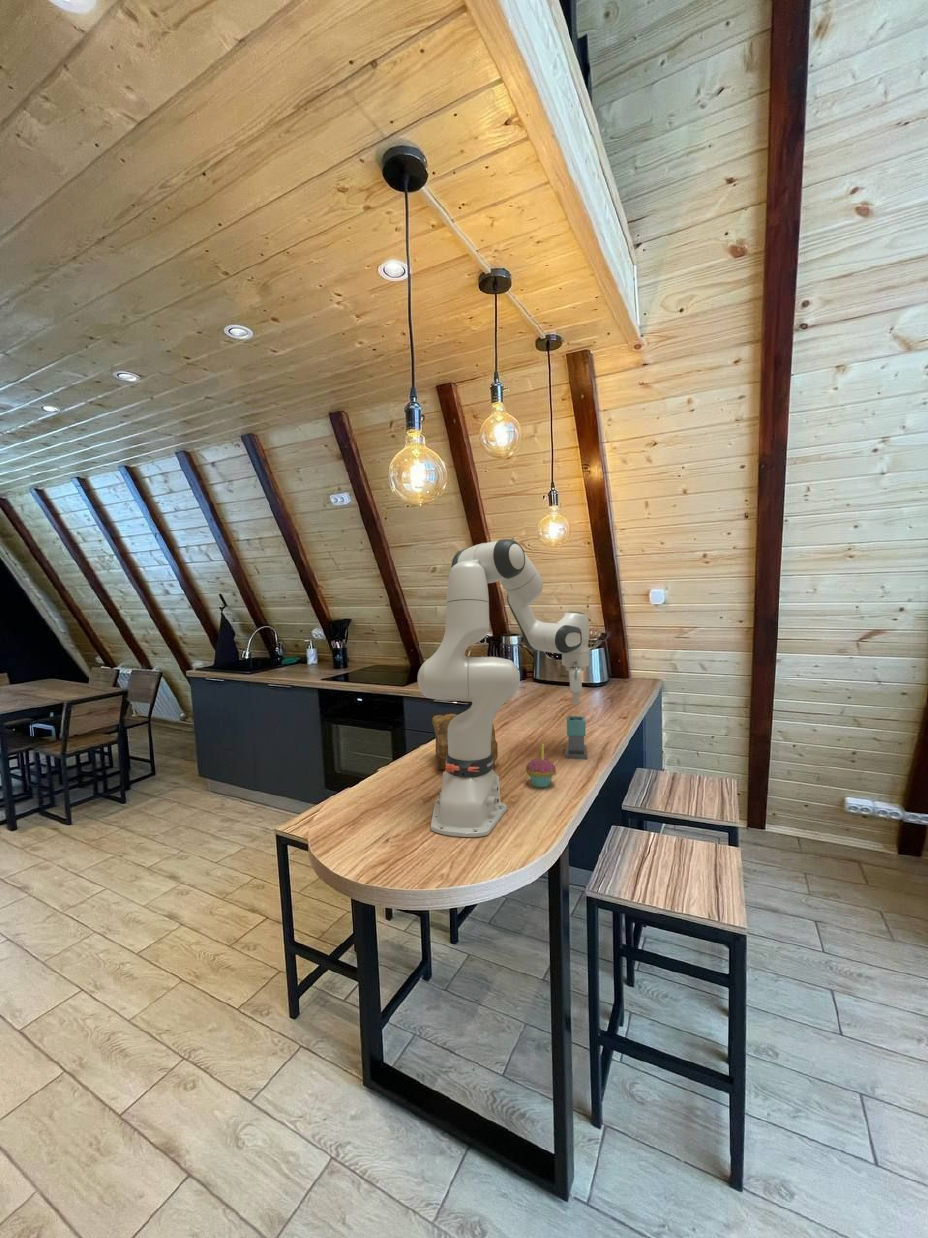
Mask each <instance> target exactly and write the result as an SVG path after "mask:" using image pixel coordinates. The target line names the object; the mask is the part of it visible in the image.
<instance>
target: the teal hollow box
mask: <svg viewBox="0 0 928 1238" xmlns="http://www.w3.org/2000/svg"><path fill="white" fill-rule="evenodd" d="M573 719H579V720H573ZM586 723H587V722H586V716H580V715H579V716H578V715H577V716H576V715H574V716H573V715H567V716H566V736H567V737H568V736H584V737H586V734H587V733H586V728H587V727H586Z"/></svg>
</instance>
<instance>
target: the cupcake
mask: <svg viewBox="0 0 928 1238" xmlns="http://www.w3.org/2000/svg"><path fill="white" fill-rule="evenodd" d="M525 768H526V769H525V773H526V775H528V776H529V777H530V780H531V784H532V785H533V786H534V787H536V788H547V787H549V786H550V783H551V779H552V778H553V776H554V775H556V774H557V769H556V765H555V764H554V763H553V762H552V761H550V760H548V759H546V758H545V744H544V741H543V740H542V743H541V757H540V758H534V759H533V760H531V761H529V762H528V763H527V764H526V766H525Z"/></svg>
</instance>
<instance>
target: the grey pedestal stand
mask: <svg viewBox="0 0 928 1238" xmlns="http://www.w3.org/2000/svg"><path fill="white" fill-rule="evenodd" d="M573 720H579V719H573ZM567 737H568V738H567V739H568V741H567V742H568V743H565V749H564V750H565V751H564V753H565V754H564V755H565V757H564V758H565V759H578V760H588V750H587V749H588V747H587V745H586V744H585V736H568V735H567Z"/></svg>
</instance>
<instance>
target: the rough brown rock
mask: <svg viewBox="0 0 928 1238" xmlns="http://www.w3.org/2000/svg"><path fill="white" fill-rule="evenodd" d="M457 715H458V714H456V713H449V714H448V713H447V714H444V715H443V714H438V715H437V714H436V715H433V717H432V722H431V723H432V725H433V730H434V735H435V759H436V763H437V768H438V770H445V767H446V757H447V753H448V725H449V723H450V721H451V720H452V719H453V718H454V717H456V716H457ZM495 732H496V731H495V725H494V724H493V725H492V734H491V752H492V753H493V765H494V764H495V763H496V761H497V759H498V757H499V751H498V750H499V749H498V741H496V733H495Z"/></svg>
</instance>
